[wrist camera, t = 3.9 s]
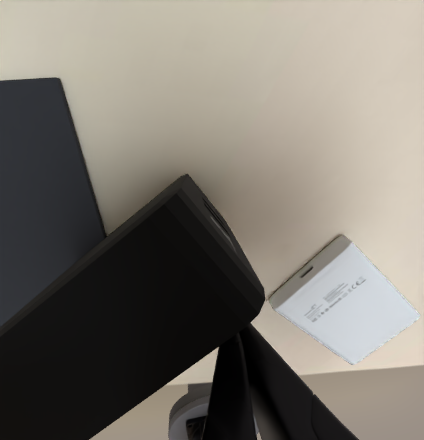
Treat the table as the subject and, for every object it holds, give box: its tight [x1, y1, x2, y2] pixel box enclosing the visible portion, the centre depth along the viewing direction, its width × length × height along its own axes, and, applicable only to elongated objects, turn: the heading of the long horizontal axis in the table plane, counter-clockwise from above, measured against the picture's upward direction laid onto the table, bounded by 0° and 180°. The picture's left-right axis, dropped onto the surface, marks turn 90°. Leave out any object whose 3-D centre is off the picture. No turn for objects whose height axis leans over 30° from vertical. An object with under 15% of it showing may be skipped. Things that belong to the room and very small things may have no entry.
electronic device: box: [0, 174, 265, 440], centre depth 11 cm, size 4×10×10 cm, turn 127°
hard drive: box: [269, 235, 420, 365], centre depth 21 cm, size 2×8×12 cm
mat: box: [0, 77, 106, 327], centre depth 15 cm, size 20×13×1 cm, turn 4°
